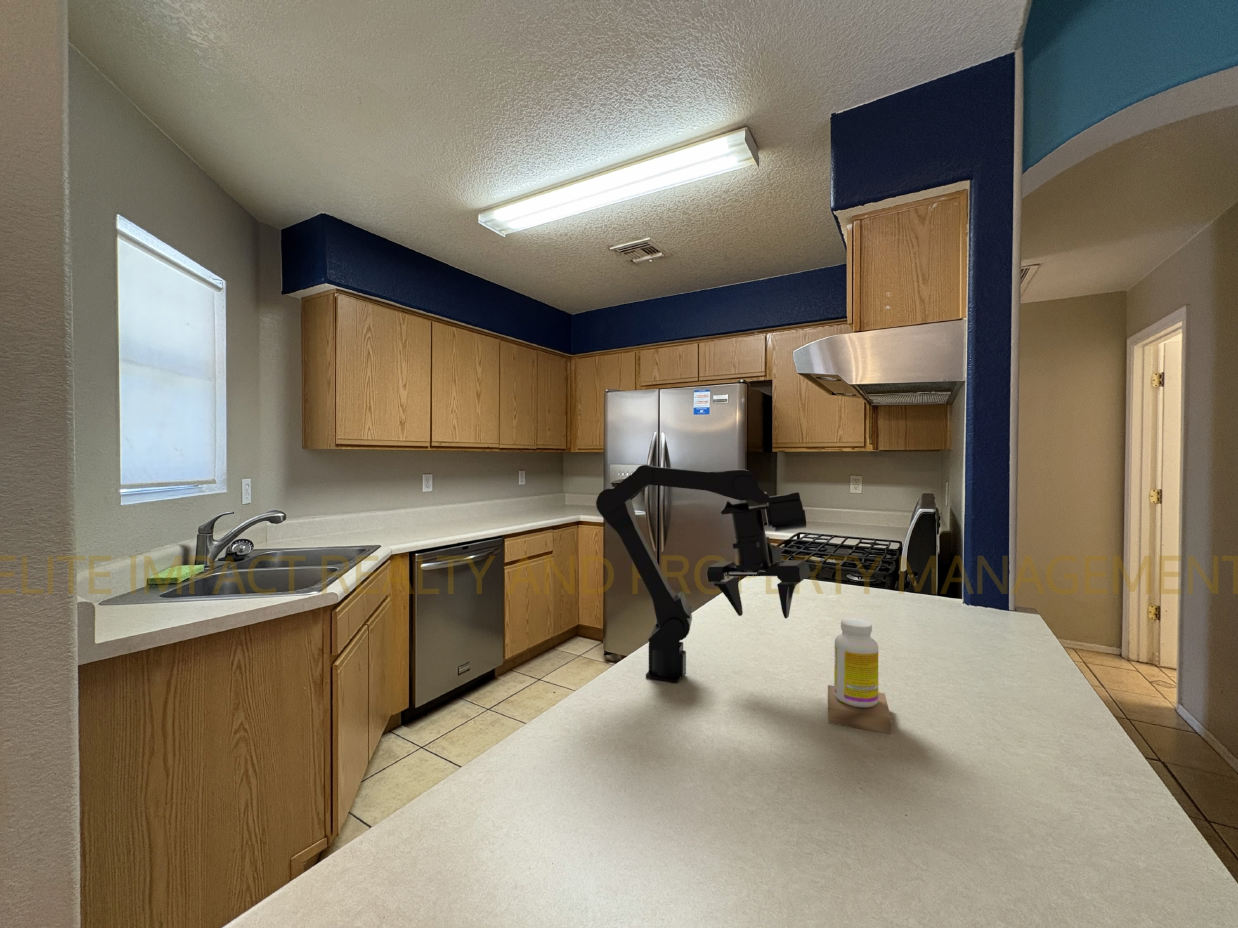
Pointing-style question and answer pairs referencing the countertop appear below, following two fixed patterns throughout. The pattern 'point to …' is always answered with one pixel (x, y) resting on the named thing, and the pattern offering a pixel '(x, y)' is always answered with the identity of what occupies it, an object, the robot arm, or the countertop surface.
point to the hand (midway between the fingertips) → (763, 616)
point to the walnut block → (859, 714)
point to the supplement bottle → (856, 664)
